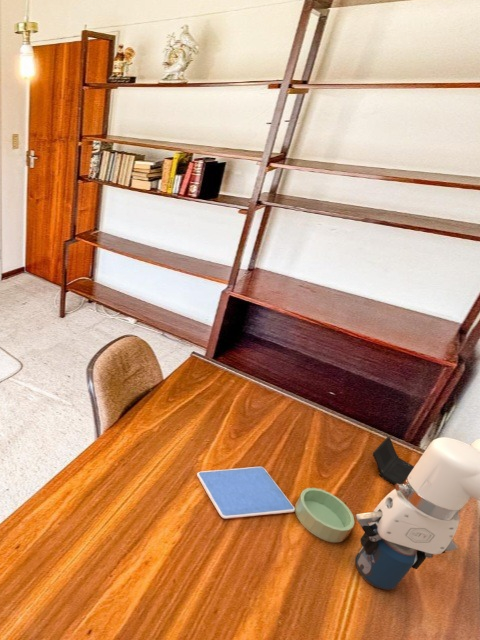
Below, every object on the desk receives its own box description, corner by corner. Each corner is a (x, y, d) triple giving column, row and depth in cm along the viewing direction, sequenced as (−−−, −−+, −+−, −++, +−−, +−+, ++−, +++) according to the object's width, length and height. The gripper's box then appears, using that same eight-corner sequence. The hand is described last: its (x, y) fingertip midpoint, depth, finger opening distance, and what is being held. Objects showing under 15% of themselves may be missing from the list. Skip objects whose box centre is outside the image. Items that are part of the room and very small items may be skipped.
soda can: (400, 581, 83) (427, 546, 77) (385, 600, 79) (413, 565, 74) (361, 550, 88) (384, 516, 83) (346, 567, 85) (369, 532, 79)
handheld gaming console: (421, 493, 99) (404, 454, 101) (384, 491, 104) (368, 453, 106) (423, 472, 107) (408, 436, 108) (389, 471, 112) (375, 436, 113)
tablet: (261, 468, 106) (263, 465, 106) (296, 513, 95) (297, 509, 95) (194, 474, 104) (195, 471, 104) (221, 521, 93) (223, 517, 92)
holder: (351, 522, 94) (359, 510, 92) (340, 552, 87) (348, 540, 85) (302, 491, 101) (308, 480, 99) (288, 517, 94) (294, 505, 92)
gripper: (382, 500, 72) (344, 557, 80) (504, 533, 67) (451, 590, 75) (365, 467, 78) (331, 523, 86) (475, 494, 74) (429, 551, 81)
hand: (387, 554), depth 81 cm, fingers closed on soda can, 7 cm apart
